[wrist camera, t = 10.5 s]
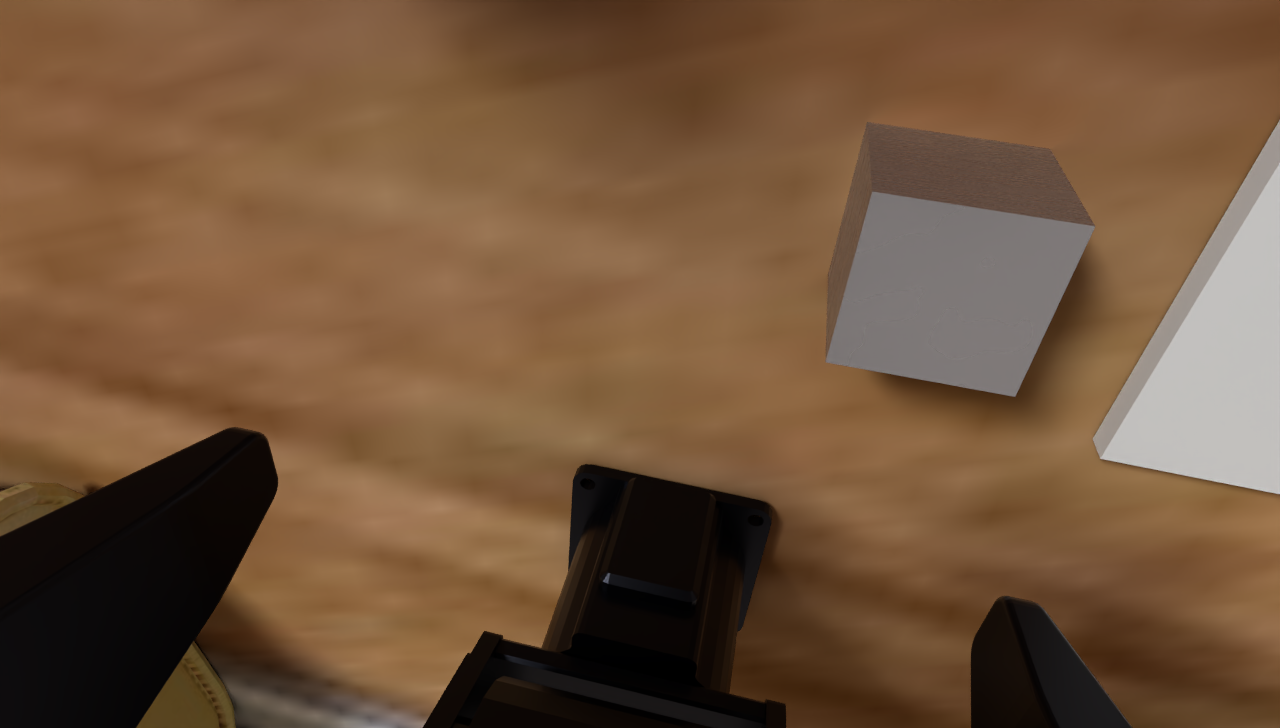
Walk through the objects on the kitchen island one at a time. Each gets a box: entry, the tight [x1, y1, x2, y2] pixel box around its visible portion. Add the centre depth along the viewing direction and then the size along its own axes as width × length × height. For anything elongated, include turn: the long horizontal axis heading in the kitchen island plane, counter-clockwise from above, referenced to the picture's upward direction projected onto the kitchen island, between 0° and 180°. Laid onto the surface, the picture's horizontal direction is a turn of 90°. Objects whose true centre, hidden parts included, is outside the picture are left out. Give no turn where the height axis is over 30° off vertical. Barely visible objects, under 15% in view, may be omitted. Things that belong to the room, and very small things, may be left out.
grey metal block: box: [826, 122, 1095, 397], centre depth 17 cm, size 4×4×4 cm
